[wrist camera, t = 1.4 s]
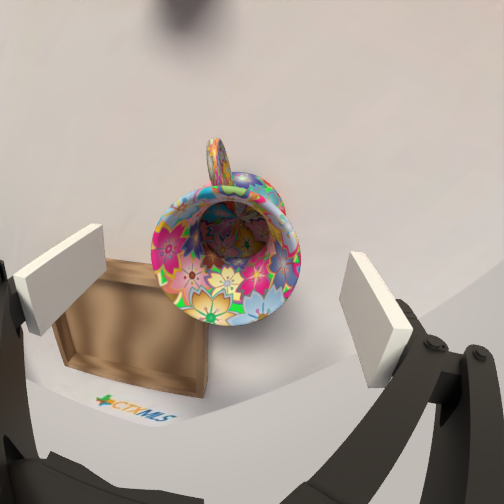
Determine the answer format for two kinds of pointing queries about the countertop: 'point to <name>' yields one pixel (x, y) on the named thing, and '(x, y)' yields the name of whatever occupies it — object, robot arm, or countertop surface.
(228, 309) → the mug
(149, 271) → the tray
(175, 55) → the countertop surface
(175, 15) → the countertop surface
